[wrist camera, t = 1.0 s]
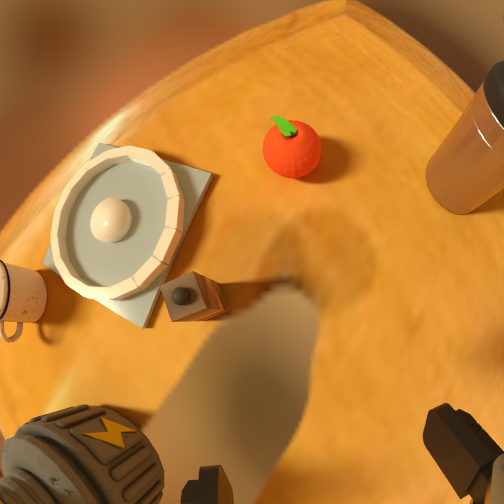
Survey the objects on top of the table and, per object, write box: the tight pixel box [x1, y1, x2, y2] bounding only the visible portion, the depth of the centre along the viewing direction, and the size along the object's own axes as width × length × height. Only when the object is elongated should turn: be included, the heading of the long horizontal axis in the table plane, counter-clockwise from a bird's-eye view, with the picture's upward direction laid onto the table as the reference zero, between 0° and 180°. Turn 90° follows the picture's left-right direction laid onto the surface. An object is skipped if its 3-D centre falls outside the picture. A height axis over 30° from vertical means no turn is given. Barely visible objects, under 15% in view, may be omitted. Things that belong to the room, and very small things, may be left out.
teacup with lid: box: [0, 260, 47, 342], centre depth 34 cm, size 12×9×12 cm
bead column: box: [160, 271, 230, 322], centre depth 30 cm, size 3×3×11 cm
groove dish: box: [43, 143, 213, 328], centre depth 38 cm, size 21×21×3 cm
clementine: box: [263, 116, 322, 178], centre depth 34 cm, size 8×7×7 cm
